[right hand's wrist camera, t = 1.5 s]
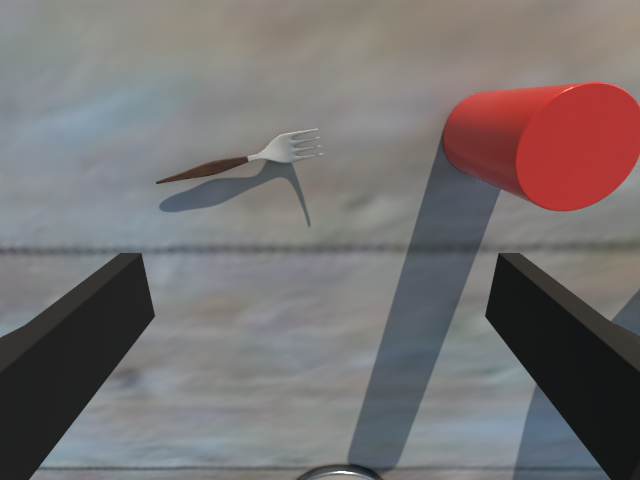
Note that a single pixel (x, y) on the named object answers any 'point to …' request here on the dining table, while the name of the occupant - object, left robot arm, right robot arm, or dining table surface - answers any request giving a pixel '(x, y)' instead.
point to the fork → (253, 157)
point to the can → (547, 141)
